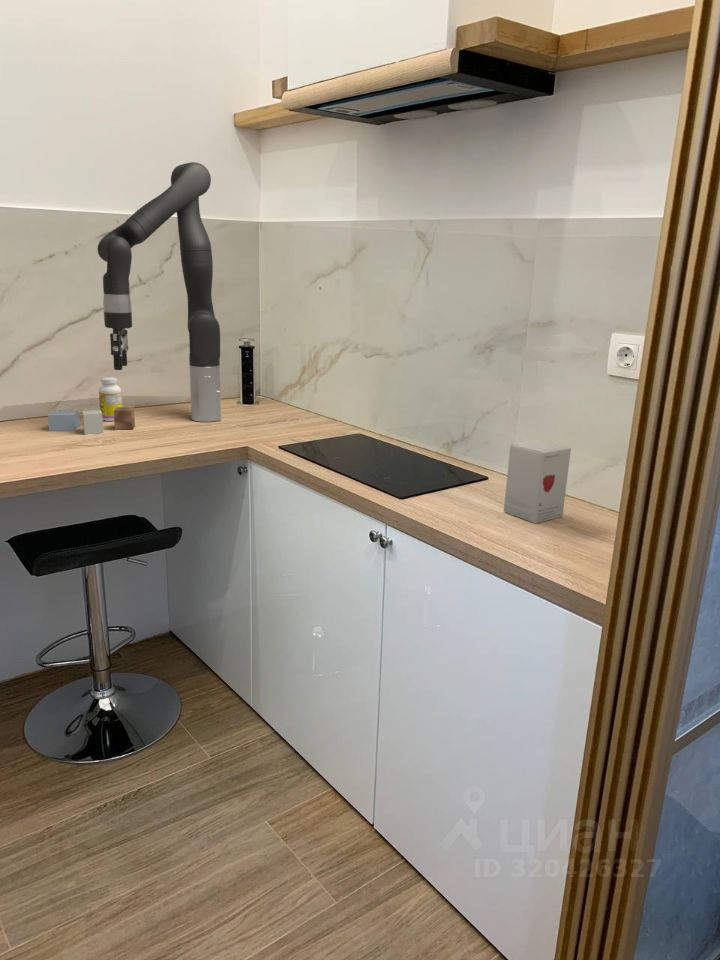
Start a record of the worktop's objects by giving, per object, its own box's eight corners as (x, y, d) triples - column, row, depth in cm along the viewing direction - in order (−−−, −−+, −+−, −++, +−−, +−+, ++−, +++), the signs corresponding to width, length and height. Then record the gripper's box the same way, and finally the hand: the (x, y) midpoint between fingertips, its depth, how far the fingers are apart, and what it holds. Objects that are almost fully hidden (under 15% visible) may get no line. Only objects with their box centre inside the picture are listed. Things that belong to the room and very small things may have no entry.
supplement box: (535, 524, 146) (542, 452, 141) (502, 512, 153) (508, 443, 148) (564, 516, 151) (572, 447, 147) (531, 504, 158) (538, 438, 153)
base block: (80, 426, 216) (78, 410, 215) (74, 432, 209) (73, 415, 208) (55, 426, 215) (54, 410, 214) (49, 432, 208) (47, 414, 207)
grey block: (102, 430, 212) (100, 410, 210) (103, 434, 208) (102, 413, 206) (83, 431, 210) (82, 411, 208) (85, 435, 206) (83, 414, 204)
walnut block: (135, 426, 218) (133, 407, 216) (132, 430, 213) (131, 410, 211) (117, 426, 217) (116, 407, 215) (114, 430, 212) (113, 410, 210)
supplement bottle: (101, 417, 228) (98, 376, 224) (123, 416, 230) (120, 376, 226) (100, 422, 222) (97, 380, 218) (123, 421, 224) (120, 380, 220)
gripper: (127, 312, 199) (130, 371, 203) (135, 309, 212) (137, 364, 217) (98, 311, 198) (102, 371, 202) (108, 308, 211) (111, 364, 216)
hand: (120, 367), depth 210 cm, fingers open, 8 cm apart
